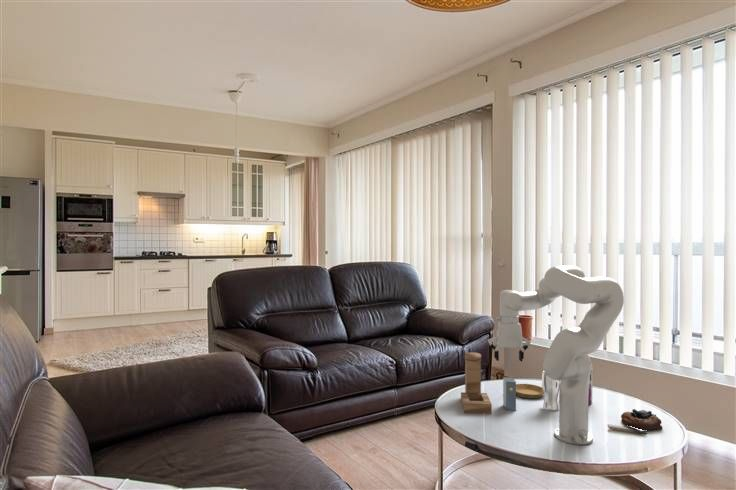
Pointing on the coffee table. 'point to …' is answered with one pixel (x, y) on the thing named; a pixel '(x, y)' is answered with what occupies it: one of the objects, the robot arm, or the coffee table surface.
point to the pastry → (642, 420)
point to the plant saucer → (529, 390)
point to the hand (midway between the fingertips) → (508, 360)
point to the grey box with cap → (509, 394)
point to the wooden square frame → (474, 387)
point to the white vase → (550, 392)
